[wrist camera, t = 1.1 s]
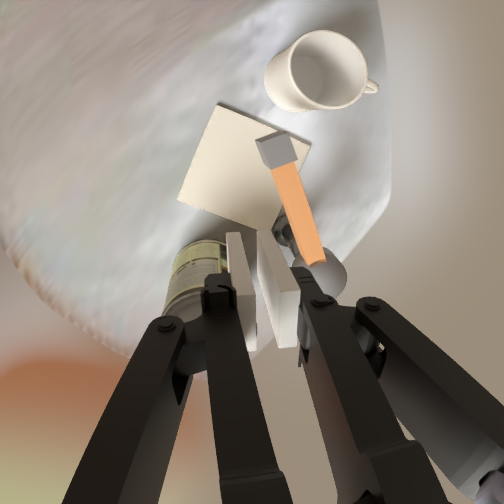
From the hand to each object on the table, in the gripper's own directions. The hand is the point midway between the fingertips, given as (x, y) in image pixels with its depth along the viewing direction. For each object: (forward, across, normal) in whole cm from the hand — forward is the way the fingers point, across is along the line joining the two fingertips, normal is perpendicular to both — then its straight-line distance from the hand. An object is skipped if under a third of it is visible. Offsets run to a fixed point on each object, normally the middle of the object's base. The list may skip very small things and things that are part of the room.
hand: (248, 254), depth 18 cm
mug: (+25, +11, +12) cm, 29 cm away
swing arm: (+13, +6, -2) cm, 14 cm away
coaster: (+24, +2, +1) cm, 25 cm away
